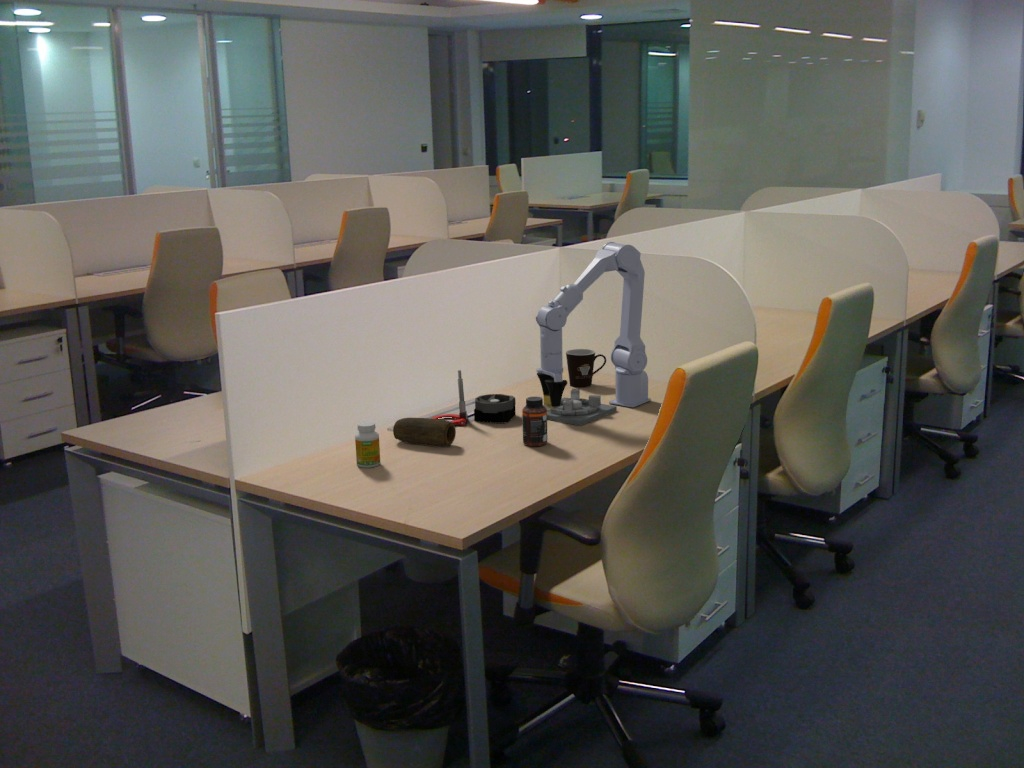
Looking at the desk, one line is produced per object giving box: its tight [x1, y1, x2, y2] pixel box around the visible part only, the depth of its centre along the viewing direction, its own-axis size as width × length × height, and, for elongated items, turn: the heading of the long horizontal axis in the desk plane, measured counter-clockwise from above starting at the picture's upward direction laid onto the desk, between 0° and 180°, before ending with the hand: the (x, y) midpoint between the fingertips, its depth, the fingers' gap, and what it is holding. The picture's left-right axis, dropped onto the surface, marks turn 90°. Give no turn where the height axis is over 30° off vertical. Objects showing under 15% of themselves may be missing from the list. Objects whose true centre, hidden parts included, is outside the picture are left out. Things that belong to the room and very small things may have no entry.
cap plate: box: [543, 396, 618, 427], centre depth 264 cm, size 17×17×3 cm
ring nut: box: [543, 388, 602, 416], centre depth 264 cm, size 15×15×4 cm
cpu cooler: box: [473, 393, 516, 424], centre depth 261 cm, size 10×6×10 cm
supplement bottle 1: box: [354, 420, 381, 469], centre depth 226 cm, size 5×5×10 cm
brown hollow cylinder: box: [392, 417, 457, 447], centre depth 241 cm, size 15×7×7 cm, turn 69°
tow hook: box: [430, 369, 469, 427], centre depth 258 cm, size 9×14×10 cm
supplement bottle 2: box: [521, 396, 549, 448], centre depth 238 cm, size 6×6×11 cm
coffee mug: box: [565, 348, 607, 389], centre depth 292 cm, size 12×9×10 cm
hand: (552, 402), depth 263 cm, fingers open, 7 cm apart
